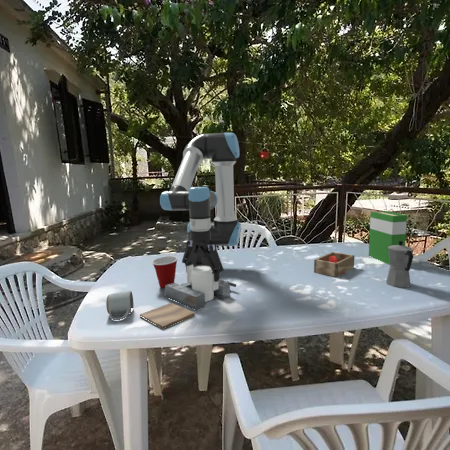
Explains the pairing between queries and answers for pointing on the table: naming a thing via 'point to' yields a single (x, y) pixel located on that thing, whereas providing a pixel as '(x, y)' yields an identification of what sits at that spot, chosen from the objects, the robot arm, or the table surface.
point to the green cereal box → (386, 233)
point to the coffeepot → (399, 265)
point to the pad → (167, 315)
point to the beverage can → (202, 281)
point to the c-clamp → (195, 293)
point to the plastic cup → (165, 269)
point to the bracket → (334, 260)
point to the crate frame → (334, 264)
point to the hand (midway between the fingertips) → (202, 285)
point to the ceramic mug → (119, 304)
